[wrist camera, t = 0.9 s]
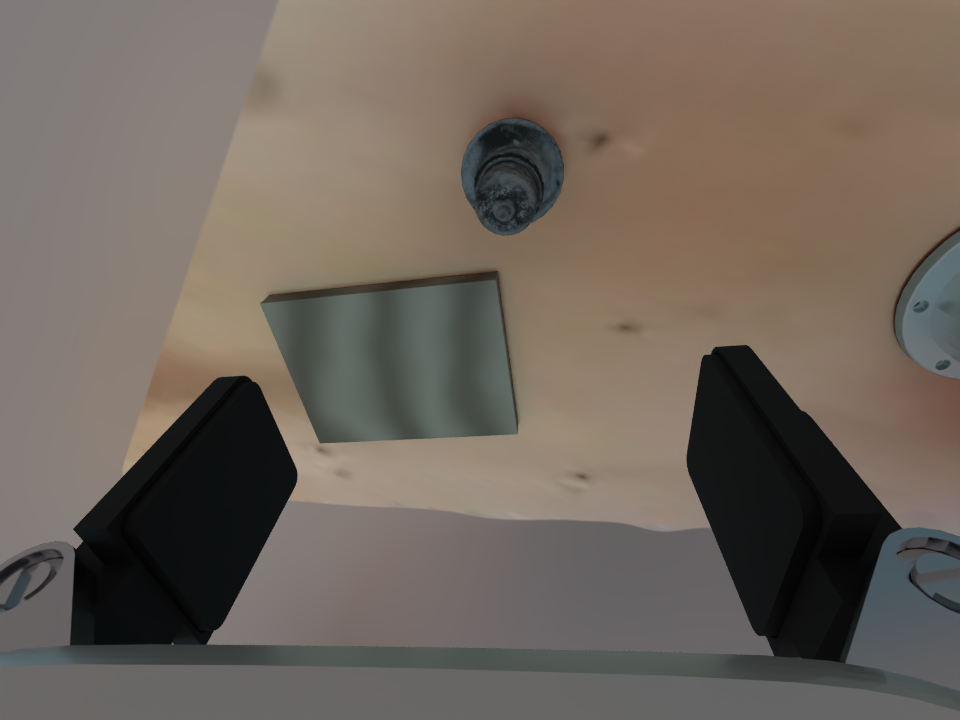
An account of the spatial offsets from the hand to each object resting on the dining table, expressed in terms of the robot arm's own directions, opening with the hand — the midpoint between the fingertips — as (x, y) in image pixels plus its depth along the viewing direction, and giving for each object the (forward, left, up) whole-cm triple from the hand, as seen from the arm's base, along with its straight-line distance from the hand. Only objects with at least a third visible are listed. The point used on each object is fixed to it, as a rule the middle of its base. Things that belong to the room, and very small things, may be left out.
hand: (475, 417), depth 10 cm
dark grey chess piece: (0, -1, -24) cm, 24 cm away
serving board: (+11, +13, -24) cm, 30 cm away
